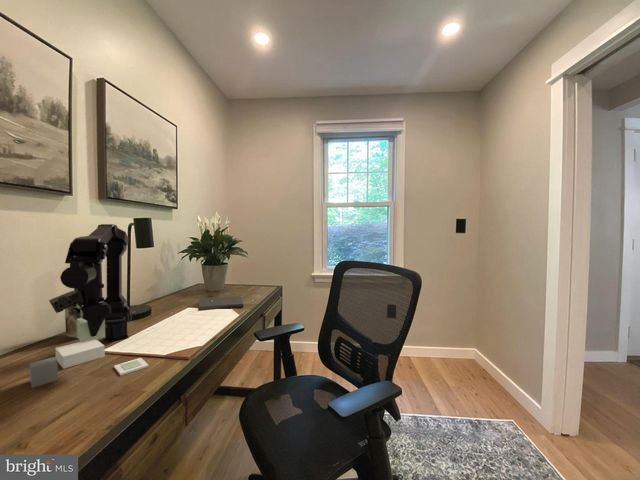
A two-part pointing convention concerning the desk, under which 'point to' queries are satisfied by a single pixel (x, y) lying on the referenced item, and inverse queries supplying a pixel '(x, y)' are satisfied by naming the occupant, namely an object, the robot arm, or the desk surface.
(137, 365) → the card
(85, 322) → the sage cube
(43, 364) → the slate cube
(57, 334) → the desk surface
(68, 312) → the coffee box
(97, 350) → the plinth
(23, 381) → the desk surface
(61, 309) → the robot arm
